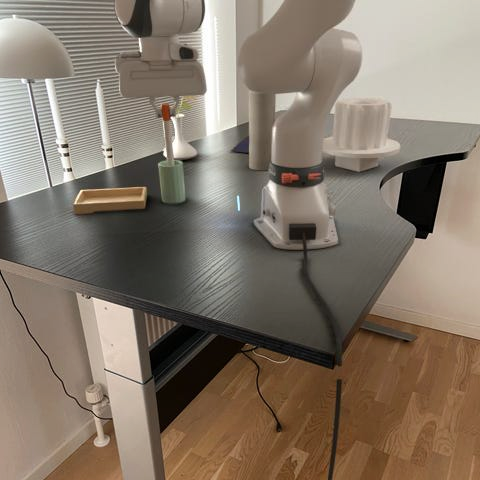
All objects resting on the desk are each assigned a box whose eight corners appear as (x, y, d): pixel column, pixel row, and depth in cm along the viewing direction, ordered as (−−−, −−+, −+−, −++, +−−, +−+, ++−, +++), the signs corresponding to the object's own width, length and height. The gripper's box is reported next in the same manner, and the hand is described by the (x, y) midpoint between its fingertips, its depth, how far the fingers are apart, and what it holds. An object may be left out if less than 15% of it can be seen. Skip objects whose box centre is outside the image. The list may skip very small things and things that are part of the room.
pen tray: (145, 210, 121) (143, 200, 120) (75, 214, 119) (72, 204, 118) (147, 196, 130) (146, 186, 129) (82, 199, 129) (80, 190, 127)
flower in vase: (174, 164, 157) (167, 80, 144) (158, 158, 165) (149, 77, 151) (207, 158, 163) (203, 77, 150) (190, 152, 171) (185, 74, 158)
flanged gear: (412, 166, 151) (424, 101, 141) (364, 182, 138) (373, 111, 127) (349, 152, 167) (355, 93, 157) (300, 165, 153) (304, 102, 143)
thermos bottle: (275, 164, 156) (277, 67, 140) (272, 171, 149) (274, 70, 134) (251, 163, 157) (251, 67, 142) (247, 170, 150) (246, 70, 135)
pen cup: (186, 204, 124) (182, 165, 119) (162, 206, 123) (157, 167, 118) (185, 197, 129) (182, 159, 124) (162, 198, 129) (158, 160, 123)
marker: (174, 167, 120) (169, 104, 113) (167, 167, 120) (160, 105, 112) (174, 165, 122) (169, 103, 114) (167, 165, 122) (160, 104, 114)
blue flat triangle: (321, 136, 183) (321, 126, 180) (294, 165, 162) (294, 154, 160) (263, 131, 192) (263, 122, 189) (230, 158, 171) (229, 148, 169)
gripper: (111, 53, 104) (121, 121, 111) (205, 50, 106) (208, 117, 113) (114, 51, 109) (123, 116, 117) (203, 49, 111) (207, 113, 118)
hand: (166, 117), depth 115 cm, fingers closed on marker, 2 cm apart
